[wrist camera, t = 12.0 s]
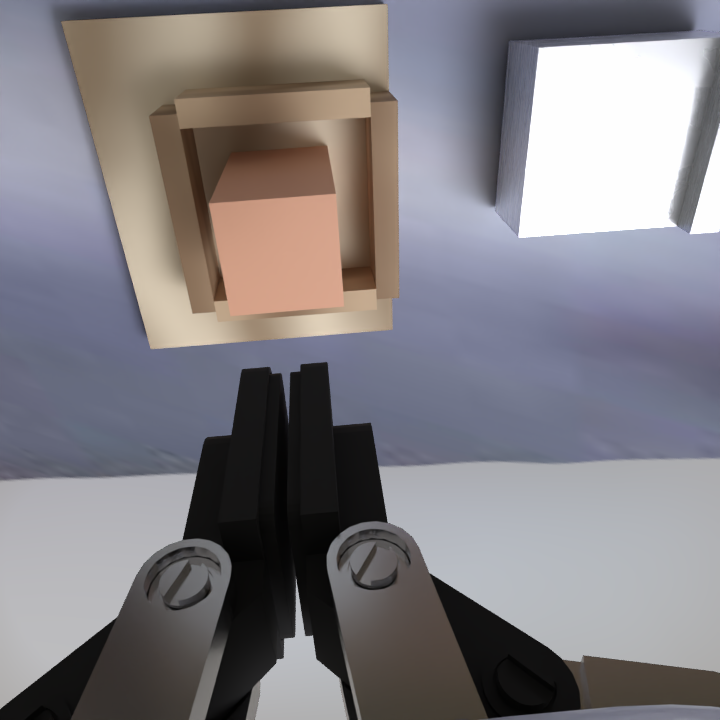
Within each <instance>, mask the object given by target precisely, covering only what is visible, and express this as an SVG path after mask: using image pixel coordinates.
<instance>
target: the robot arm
mask: <svg viewBox="0 0 720 720" xmlns="http://www.w3.org/2000/svg"><path fill="white" fill-rule="evenodd" d="M296 579H297V586H298V592H299V599H300V604H301V611H302V618H303V623H304V630H305V635H306V636H312V635H313V638H314V645H315V652H316V658H317V660H319V661H320V662H321V663H322V664H324V665H325V666H326V667H327V668H328V669H330V671H332V672H333V673H334V674H335V675H336V676H338V677H339V679H340V687H341V692H342V697H343V702H344V707H345V711H346V716H347V720H720V673H718V672H714V671H706V670H698V669H690V668H682V667H673V666H665V665H657V664H649V663H641V662H633V661H624V660H616V659H608V658H600V657H591V656H584V655H583V657H582V661H581V662H576V661H568V660H562V659H561V658H560V657H559V656H558V655H556V654H555V653H554V652H553V651H552V650H550V649H549V648H548V647H546V646H545V645H543V644H542V643H540V642H538V641H537V640H535V639H533V638H532V637H530V636H528V635H527V634H526V633H524V632H522V631H521V630H519V629H518V628H516V627H514V626H513V625H511V624H510V623H508V622H507V621H505V620H503V619H502V618H500V617H499V616H497V615H495V614H494V613H492V612H491V611H489V610H487V609H486V608H484V607H483V606H481V605H479V604H478V603H476V602H474V601H473V600H471V599H470V598H468V597H466V596H465V595H463V594H462V593H460V592H459V591H457V590H455V589H454V588H452V587H451V586H449V585H447V584H446V583H444V582H443V581H441V580H439V579H438V578H436V577H435V576H433V575H432V574H430V573H429V572H428V569H427V566H426V564H425V561H424V559H423V557H422V554H421V552H420V549H419V547H418V545H417V544H416V542H415V540H414V539H413V538H412V536H410V535H409V534H408V533H407V532H406V531H404V530H403V529H402V528H399V527H397V526H395V525H392V524H390V523H388V522H387V516H386V510H385V504H384V498H383V492H382V486H381V480H380V474H379V468H378V461H377V455H376V449H375V443H374V437H373V431H372V426H371V423H364V424H352V425H341V426H333V420H332V409H331V397H330V385H329V374H328V363H327V362H323V363H311V364H301V370H300V372H291V373H290V406H289V423H288V416H287V408H286V401H285V394H284V387H283V380H282V374H281V373H277V374H272V372H271V368H270V367H263V368H251V369H242V372H241V378H240V384H239V390H238V397H237V403H236V409H235V416H234V422H233V429H232V435H227V436H216V437H207V438H206V439H205V441H204V444H203V448H202V453H201V458H200V462H199V467H198V471H197V476H196V481H195V486H194V490H193V494H192V499H191V504H190V509H189V513H188V518H187V522H186V527H185V532H184V536H183V540H182V541H179V542H176V543H173V544H170V545H168V546H166V547H164V548H163V549H161V550H159V551H158V552H156V553H155V554H153V555H152V556H151V557H150V558H149V559H148V560H147V561H146V562H145V563H144V564H143V566H142V567H141V569H140V571H139V572H138V574H137V575H136V577H135V579H134V582H133V584H132V586H131V588H130V590H129V593H128V595H127V597H126V599H125V602H124V604H123V606H122V608H121V610H120V612H119V615H118V617H117V618H116V619H114V620H113V621H112V622H111V623H109V624H108V625H107V626H105V627H104V628H103V629H102V630H100V631H99V632H98V633H96V634H95V635H94V636H93V637H91V638H90V639H89V640H88V641H86V642H85V643H84V644H83V645H81V646H80V647H79V648H77V649H76V650H75V651H74V652H72V653H71V654H70V655H69V656H67V657H66V658H65V659H63V660H62V661H61V662H60V663H58V664H57V665H56V666H54V667H53V668H52V669H51V670H50V671H48V672H47V673H46V674H44V675H43V676H42V677H40V678H39V679H38V680H37V681H35V682H34V683H33V684H31V685H30V686H29V687H28V688H26V689H25V690H24V691H23V692H21V693H20V694H19V695H17V696H16V697H15V698H14V699H12V700H11V701H10V702H9V703H7V704H6V705H5V706H3V707H2V708H1V709H0V720H255V717H256V711H257V707H258V702H259V697H260V679H262V678H263V676H264V675H265V674H266V673H267V672H268V671H269V670H270V669H271V668H272V667H273V666H274V665H275V664H276V660H277V659H282V658H283V657H284V656H283V655H284V638H293V637H295V612H296V608H295V606H296Z"/></svg>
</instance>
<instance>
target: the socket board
mask: <svg viewBox="0 0 720 720" xmlns="http://www.w3.org/2000/svg"><path fill="white" fill-rule="evenodd" d="M61 23H62V27H63V30H64V34H65V38H66V41H67V45H68V49H69V52H70V56H71V60H72V63H73V67H74V71H75V74H76V78H77V81H78V85H79V89H80V92H81V96H82V100H83V103H84V107H85V111H86V114H87V118H88V122H89V125H90V129H91V133H92V136H93V140H94V143H95V147H96V151H97V154H98V158H99V162H100V165H101V169H102V173H103V176H104V180H105V184H106V187H107V191H108V195H109V198H110V202H111V205H112V209H113V213H114V216H115V220H116V224H117V227H118V231H119V235H120V238H121V242H122V246H123V249H124V253H125V257H126V260H127V264H128V267H129V271H130V275H131V278H132V282H133V286H134V289H135V293H136V297H137V300H138V304H139V308H140V311H141V315H142V319H143V322H144V326H145V330H146V333H147V337H148V340H149V344H150V348H151V349H159V348H172V347H184V346H197V345H209V344H221V343H234V342H246V341H258V340H271V339H283V338H296V337H308V336H320V335H333V334H345V333H357V332H370V331H382V330H393V329H392V298H399V213H398V101H397V100H396V99H395V98H394V96H393V95H392V94H391V93H390V92H389V71H388V7H387V4H372V5H353V6H334V7H315V8H295V9H276V10H257V11H238V12H219V13H200V14H181V15H162V16H143V17H124V18H105V19H85V20H68V21H61ZM315 146H327V147H328V152H329V158H330V163H331V169H332V175H333V180H334V186H335V191H336V201H337V215H338V228H339V242H340V255H341V269H342V283H343V296H344V307H333V308H321V309H310V310H298V311H286V312H274V313H263V314H251V315H239V316H230V311H229V306H228V301H227V295H226V290H225V285H224V280H223V275H222V269H221V264H220V259H219V254H218V248H217V243H216V238H215V233H214V228H213V222H212V217H211V212H210V207H209V202H210V200H211V198H212V195H213V193H214V191H215V188H216V186H217V184H218V182H219V179H220V177H221V175H222V172H223V170H224V168H225V166H226V163H227V161H228V159H229V156H230V154H231V153H232V152H246V151H260V150H274V149H287V148H301V147H315Z"/></svg>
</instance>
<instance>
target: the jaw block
mask: <svg viewBox="0 0 720 720" xmlns="http://www.w3.org/2000/svg"><path fill="white" fill-rule="evenodd" d="M209 207H210V212H211V217H212V222H213V228H214V233H215V238H216V243H217V248H218V254H219V259H220V264H221V269H222V275H223V280H224V285H225V290H226V295H227V301H228V306H229V311H230V316H239V315H251V314H263V313H274V312H286V311H298V310H310V309H321V308H333V307H344V296H343V283H342V269H341V255H340V242H339V228H338V215H337V201H336V191H335V186H334V180H333V175H332V169H331V163H330V158H329V152H328V147H327V146H315V147H301V148H287V149H274V150H260V151H246V152H232V153H231V154H230V156H229V159H228V161H227V163H226V166H225V168H224V170H223V172H222V175H221V177H220V179H219V182H218V184H217V186H216V188H215V191H214V193H213V195H212V198H211V200H210V202H209Z"/></svg>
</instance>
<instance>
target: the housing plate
mask: <svg viewBox="0 0 720 720" xmlns="http://www.w3.org/2000/svg"><path fill="white" fill-rule="evenodd" d="M495 212H496V213H497V214H498V215H499V216H500V217H501V218H502V219H503V221H504V222H505V223H506V224H507V225H508V226H509V227H510V228H511V229H512V231H513V232H514V233H515V234H516V235H517V236H518V237H532V236H545V235H559V234H573V233H586V232H600V231H613V230H627V229H640V228H654V227H668V226H678V227H679V228H681V229H683V230H684V231H686V232H688V233H689V234H697V233H711V232H718V231H719V228H720V32H715V31H703V30H696V31H678V32H660V33H642V34H625V35H607V36H589V37H571V38H554V39H536V40H518V41H509V47H508V59H507V71H506V83H505V96H504V108H503V120H502V132H501V145H500V157H499V169H498V181H497V194H496V206H495Z"/></svg>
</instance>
